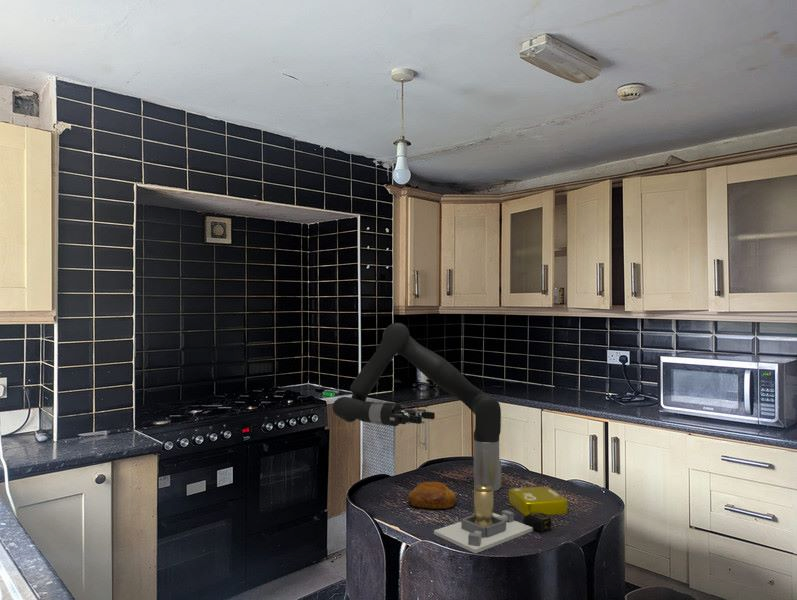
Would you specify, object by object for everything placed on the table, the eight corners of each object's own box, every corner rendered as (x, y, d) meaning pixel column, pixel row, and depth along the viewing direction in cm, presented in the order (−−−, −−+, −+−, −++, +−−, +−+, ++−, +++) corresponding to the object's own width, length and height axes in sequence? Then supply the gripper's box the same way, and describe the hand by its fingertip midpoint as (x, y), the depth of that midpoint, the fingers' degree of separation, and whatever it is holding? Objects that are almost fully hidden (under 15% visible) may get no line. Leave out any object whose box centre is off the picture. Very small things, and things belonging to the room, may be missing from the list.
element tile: (570, 514, 168) (569, 499, 168) (525, 517, 166) (525, 501, 166) (548, 498, 183) (548, 484, 183) (506, 501, 180) (506, 486, 180)
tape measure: (522, 527, 157) (522, 514, 158) (537, 522, 161) (537, 509, 161) (540, 535, 152) (540, 521, 152) (556, 529, 156) (556, 516, 156)
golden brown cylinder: (482, 523, 157) (482, 482, 158) (497, 529, 153) (497, 486, 153) (469, 528, 153) (470, 485, 154) (484, 533, 149) (484, 490, 150)
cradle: (490, 515, 167) (490, 503, 167) (532, 530, 154) (532, 518, 154) (433, 534, 152) (433, 521, 152) (475, 553, 139) (475, 539, 139)
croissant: (452, 519, 169) (455, 494, 169) (404, 508, 172) (407, 484, 172) (457, 503, 183) (460, 480, 183) (413, 493, 187) (416, 470, 186)
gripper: (373, 405, 173) (416, 409, 165) (396, 399, 185) (438, 403, 177) (373, 428, 173) (416, 434, 165) (396, 421, 185) (438, 426, 177)
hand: (427, 418), depth 171 cm, fingers open, 8 cm apart
